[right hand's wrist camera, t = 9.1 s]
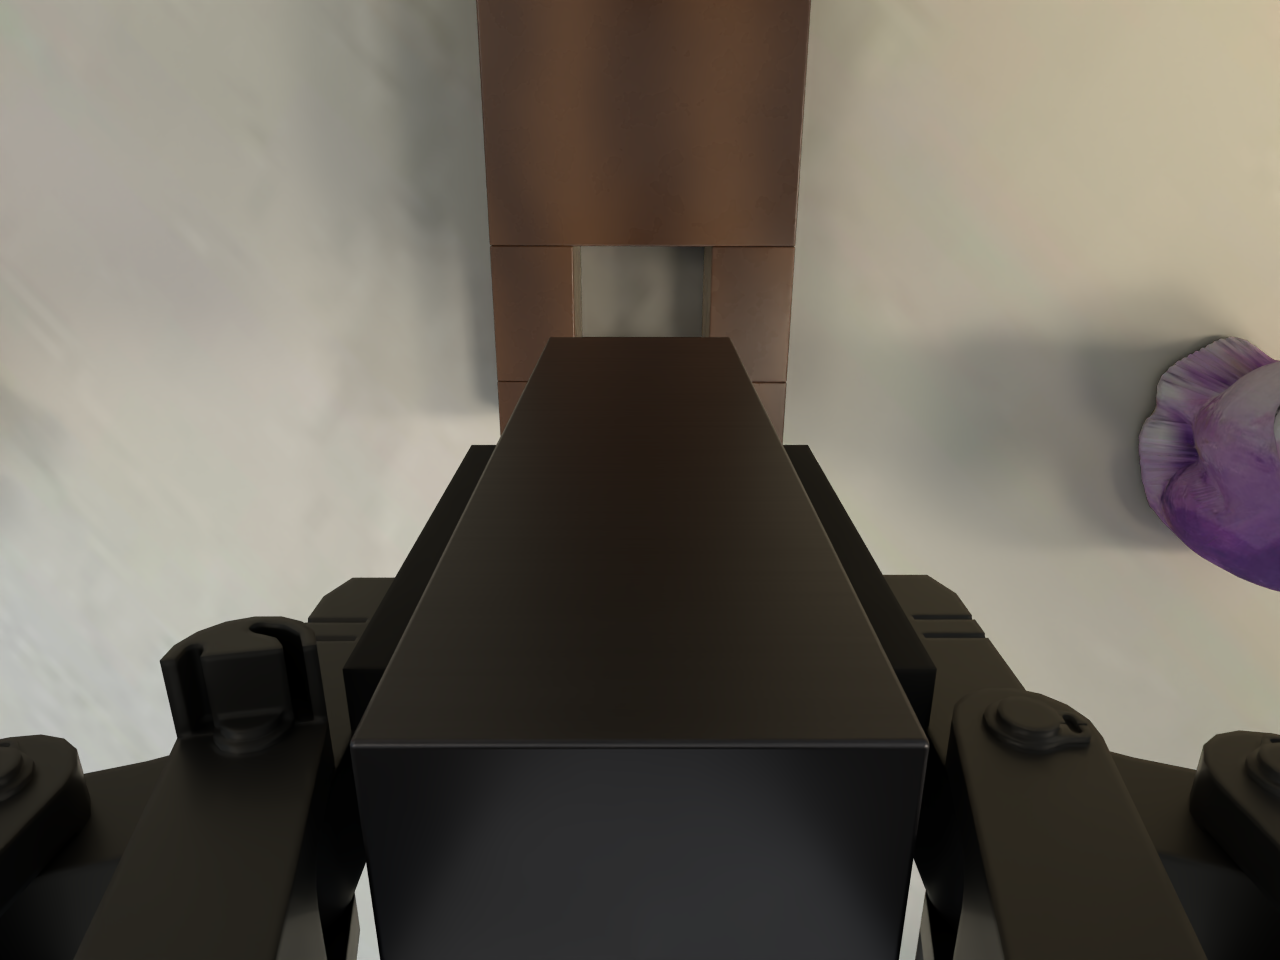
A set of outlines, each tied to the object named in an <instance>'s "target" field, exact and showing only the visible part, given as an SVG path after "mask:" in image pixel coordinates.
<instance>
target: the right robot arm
mask: <svg viewBox="0 0 1280 960" xmlns="http://www.w3.org/2000/svg"><path fill="white" fill-rule="evenodd" d="M783 446H784V448H785V450H786V452H787V455H788V457H789V459H790V461H791V463H792V465H793V467H794V469H795V471H796V473H797V475H798V477H799V479H800V481H801V483H802V485H803V487H804V489H805V491H806V493H807V495H808V497H809V499H810V501H811V503H812V505H813V507H814V509H815V511H816V513H817V515H818V517H819V519H820V521H821V523H822V526H823V528H824V530H825V532H826V534H827V536H828V538H829V540H830V542H831V544H832V546H833V548H834V550H835V552H836V554H837V556H838V558H839V560H840V562H841V564H842V566H843V568H844V570H845V572H846V574H847V576H848V578H849V580H850V582H851V584H852V586H853V588H854V590H855V592H856V594H857V597H858V599H859V601H860V603H861V605H862V607H863V609H864V611H865V613H866V615H867V617H868V619H869V621H870V623H871V625H872V627H873V629H874V631H875V633H876V635H877V637H878V639H879V641H880V643H881V645H882V647H883V649H884V651H885V653H886V655H887V657H888V659H889V661H890V663H891V665H892V668H893V670H894V672H895V674H896V676H897V678H898V680H899V682H900V684H901V686H902V688H903V690H904V692H905V694H906V696H907V698H908V700H909V702H910V704H911V706H912V708H913V710H914V712H915V714H916V716H917V718H918V720H919V722H920V724H921V726H922V728H923V730H924V732H925V734H926V737H927V739H928V741H929V744H930V745H929V752H928V759H927V766H926V773H925V780H924V787H923V794H922V801H921V808H920V815H919V822H918V829H917V836H916V843H915V850H914V857H913V858H914V861H915V863H916V866H917V868H918V871H919V873H920V876H921V879H922V881H923V884H924V886H925V889H926V892H925V899H924V905H923V912H922V918H921V925H920V931H919V938H918V945H917V951H916V958H915V960H1280V735H1277V734H1272V733H1261V732H1250V731H1234V732H1228V733H1223V734H1217V735H1215V736H1214V737H1213V738H1212V739H1210V740H1209V741H1208V742H1207V743H1206V744H1204V746H1203V749H1202V753H1201V756H1200V760H1199V764H1198V767H1197V770H1193V769H1188V768H1183V767H1178V766H1173V765H1168V764H1163V763H1158V762H1153V761H1148V760H1143V759H1138V758H1133V757H1129V756H1125V755H1122V754H1118V753H1114V752H1110V751H1109V749H1108V747H1107V745H1106V743H1105V741H1104V739H1103V737H1102V735H1101V734H1100V733H1099V732H1098V730H1097V729H1096V728H1095V727H1094V725H1093V724H1092V723H1091V722H1090V720H1089V719H1087V718H1086V717H1084V716H1083V715H1081V714H1080V713H1078V712H1077V711H1075V710H1074V709H1073V708H1071V707H1070V706H1068V705H1066V704H1064V703H1062V702H1059V701H1057V700H1054V699H1052V698H1049V697H1047V696H1044V695H1042V694H1039V693H1034V692H1029V691H1026V690H1025V689H1024V687H1023V686H1022V684H1021V683H1020V682H1019V680H1018V679H1017V677H1016V676H1015V675H1014V673H1013V672H1012V670H1011V669H1010V668H1009V666H1008V665H1007V664H1006V662H1005V661H1004V659H1003V658H1002V657H1001V655H1000V654H999V652H998V651H997V650H996V648H995V647H994V645H993V644H992V643H991V641H990V640H989V639H988V638H985V633H984V632H983V630H982V629H981V627H980V626H979V625H978V623H977V622H976V620H972V615H971V614H970V612H969V611H968V609H967V608H966V607H965V605H964V604H963V602H962V601H961V600H960V598H959V597H958V595H957V594H956V593H954V592H953V591H951V590H950V589H948V588H947V587H945V586H944V585H942V584H940V583H939V582H937V581H936V580H934V579H933V578H931V577H930V576H928V575H882V573H881V571H880V569H879V568H878V566H877V564H876V562H875V561H874V559H873V557H872V556H871V554H870V552H869V550H868V549H867V547H866V545H865V543H864V542H863V540H862V538H861V536H860V535H859V533H858V531H857V530H856V528H855V526H854V524H853V523H852V521H851V519H850V517H849V516H848V514H847V512H846V511H845V509H844V507H843V505H842V504H841V502H840V500H839V498H838V497H837V495H836V493H835V491H834V490H833V488H832V486H831V485H830V483H829V481H828V479H827V478H826V476H825V474H824V472H823V471H822V469H821V467H820V465H819V464H818V462H817V460H816V459H815V457H814V455H813V453H812V452H811V450H810V448H809V446H808V445H783ZM495 447H496V445H471V447H470V449H469V451H468V452H467V454H466V456H465V458H464V459H463V461H462V463H461V464H460V466H459V468H458V470H457V471H456V473H455V475H454V477H453V478H452V480H451V482H450V483H449V485H448V487H447V489H446V490H445V492H444V494H443V496H442V497H441V499H440V501H439V503H438V504H437V506H436V508H435V509H434V511H433V513H432V515H431V516H430V518H429V520H428V522H427V523H426V525H425V527H424V529H423V530H422V532H421V534H420V535H419V537H418V539H417V541H416V542H415V544H414V546H413V548H412V549H411V551H410V553H409V554H408V556H407V558H406V560H405V561H404V563H403V565H402V567H401V568H400V570H399V572H398V574H397V575H396V577H395V578H352V579H350V580H348V581H347V582H345V583H344V584H342V585H341V586H339V587H338V588H336V589H334V590H333V591H331V592H330V593H328V594H327V595H325V596H324V597H323V598H322V600H321V601H320V602H319V604H318V605H317V607H316V608H315V609H314V611H313V612H312V614H311V615H310V616H309V618H308V623H303V622H302V621H298V620H294V619H290V618H285V617H250V618H244V619H238V620H233V621H227V622H224V623H221V624H218V625H215V626H212V627H209V628H207V629H204V630H201V631H198V632H196V633H194V634H193V635H191V636H189V637H188V638H186V639H184V640H182V641H181V642H179V643H177V644H176V645H174V646H173V647H172V648H171V649H170V650H169V651H168V652H167V654H166V655H165V656H164V657H163V658H162V659H161V660H160V664H161V668H162V673H163V677H164V682H165V686H166V690H167V695H168V699H169V703H170V708H171V712H172V717H173V721H174V725H175V730H176V734H177V740H176V742H175V744H174V746H173V749H172V751H171V753H170V755H169V756H165V757H161V758H158V759H154V760H150V761H146V762H141V763H136V764H131V765H126V766H121V767H116V768H111V769H106V770H101V771H96V772H91V773H86V774H84V773H83V770H82V766H81V763H80V759H79V755H78V752H77V749H76V748H75V747H73V746H72V745H71V744H70V743H69V742H68V741H66V740H65V739H63V738H58V737H52V736H46V735H31V736H20V737H9V738H4V739H0V960H357V951H358V943H359V934H360V926H359V919H358V912H357V905H356V899H355V889H356V887H357V884H358V881H359V879H360V876H361V874H362V871H363V869H364V866H365V863H366V857H365V850H364V843H363V836H362V829H361V822H360V815H359V808H358V801H357V794H356V787H355V780H354V773H353V766H352V760H351V753H350V746H349V744H350V741H351V739H352V737H353V735H354V733H355V731H356V728H357V726H358V724H359V722H360V720H361V718H362V716H363V714H364V712H365V710H366V708H367V706H368V704H369V702H370V700H371V698H372V696H373V694H374V692H375V690H376V688H377V686H378V684H379V682H380V680H381V678H382V676H383V674H384V672H385V670H386V668H387V666H388V664H389V662H390V660H391V658H392V656H393V654H394V652H395V650H396V647H397V645H398V643H399V641H400V639H401V637H402V635H403V633H404V631H405V629H406V627H407V625H408V623H409V621H410V619H411V617H412V615H413V613H414V611H415V609H416V607H417V605H418V603H419V601H420V599H421V597H422V595H423V593H424V591H425V589H426V587H427V585H428V583H429V581H430V579H431V577H432V575H433V573H434V571H435V569H436V566H437V564H438V562H439V560H440V558H441V556H442V554H443V552H444V550H445V548H446V546H447V544H448V542H449V540H450V538H451V536H452V534H453V532H454V530H455V528H456V526H457V524H458V522H459V520H460V518H461V516H462V514H463V512H464V510H465V508H466V506H467V504H468V502H469V500H470V498H471V496H472V494H473V492H474V490H475V488H476V485H477V483H478V481H479V479H480V477H481V475H482V473H483V471H484V469H485V467H486V465H487V463H488V461H489V459H490V457H491V455H492V453H493V451H494V449H495Z"/></svg>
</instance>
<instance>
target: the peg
mask: <svg viewBox="0 0 1280 960" xmlns="http://www.w3.org/2000/svg"><path fill="white" fill-rule="evenodd" d="M929 745H930V744H929V741H928V739H927V737H926V734H925V732H924V730H923V728H922V726H921V724H920V722H919V720H918V718H917V716H916V714H915V712H914V710H913V708H912V706H911V704H910V702H909V700H908V698H907V696H906V694H905V692H904V690H903V688H902V686H901V684H900V682H899V680H898V678H897V676H896V674H895V672H894V670H893V668H892V665H891V663H890V661H889V659H888V657H887V655H886V653H885V651H884V649H883V647H882V645H881V643H880V641H879V639H878V637H877V635H876V633H875V631H874V629H873V627H872V625H871V623H870V621H869V619H868V617H867V615H866V613H865V611H864V609H863V607H862V605H861V603H860V601H859V599H858V597H857V594H856V592H855V590H854V588H853V586H852V584H851V582H850V580H849V578H848V576H847V574H846V572H845V570H844V568H843V566H842V564H841V562H840V560H839V558H838V556H837V554H836V552H835V550H834V548H833V546H832V544H831V542H830V540H829V538H828V536H827V534H826V532H825V530H824V528H823V526H822V523H821V521H820V519H819V517H818V515H817V513H816V511H815V509H814V507H813V505H812V503H811V501H810V499H809V497H808V495H807V493H806V491H805V489H804V487H803V485H802V483H801V481H800V479H799V477H798V475H797V473H796V471H795V469H794V467H793V465H792V463H791V461H790V459H789V457H788V455H787V452H786V450H785V448H784V446H783V444H782V442H781V440H780V438H779V436H778V434H777V432H776V430H775V428H774V426H773V424H772V422H771V420H770V418H769V416H768V414H767V412H766V410H765V408H764V406H763V404H762V402H761V400H760V398H759V396H758V394H757V392H756V390H755V388H754V386H753V384H752V381H751V379H750V377H749V375H748V373H747V371H746V369H745V367H744V365H743V363H742V361H741V359H740V357H739V355H738V353H737V351H736V349H735V347H734V345H733V343H732V341H731V339H730V338H729V337H550V338H549V340H548V342H547V344H546V346H545V348H544V350H543V352H542V354H541V356H540V358H539V360H538V362H537V364H536V366H535V368H534V370H533V372H532V374H531V376H530V378H529V380H528V382H527V384H526V386H525V388H524V390H523V392H522V394H521V396H520V398H519V400H518V402H517V404H516V407H515V409H514V411H513V413H512V415H511V417H510V419H509V421H508V423H507V425H506V427H505V429H504V431H503V433H502V435H501V437H500V439H499V441H498V443H497V445H496V447H495V449H494V451H493V453H492V455H491V457H490V459H489V461H488V463H487V465H486V467H485V469H484V471H483V473H482V475H481V477H480V479H479V481H478V483H477V485H476V488H475V490H474V492H473V494H472V496H471V498H470V500H469V502H468V504H467V506H466V508H465V510H464V512H463V514H462V516H461V518H460V520H459V522H458V524H457V526H456V528H455V530H454V532H453V534H452V536H451V538H450V540H449V542H448V544H447V546H446V548H445V550H444V552H443V554H442V556H441V558H440V560H439V562H438V564H437V566H436V569H435V571H434V573H433V575H432V577H431V579H430V581H429V583H428V585H427V587H426V589H425V591H424V593H423V595H422V597H421V599H420V601H419V603H418V605H417V607H416V609H415V611H414V613H413V615H412V617H411V619H410V621H409V623H408V625H407V627H406V629H405V631H404V633H403V635H402V637H401V639H400V641H399V643H398V645H397V647H396V650H395V652H394V654H393V656H392V658H391V660H390V662H389V664H388V666H387V668H386V670H385V672H384V674H383V676H382V678H381V680H380V682H379V684H378V686H377V688H376V690H375V692H374V694H373V696H372V698H371V700H370V702H369V704H368V706H367V708H366V710H365V712H364V714H363V716H362V718H361V720H360V722H359V724H358V726H357V728H356V731H355V733H354V735H353V737H352V739H351V741H350V744H349V746H350V753H351V760H352V766H353V773H354V780H355V787H356V794H357V801H358V808H359V815H360V822H361V829H362V836H363V843H364V850H365V857H366V864H367V871H368V878H369V885H370V892H371V898H372V905H373V912H374V919H375V926H376V933H377V940H378V947H379V954H380V960H899V955H900V948H901V941H902V934H903V927H904V920H905V913H906V906H907V899H908V892H909V885H910V878H911V871H912V864H913V857H914V850H915V843H916V836H917V829H918V822H919V815H920V808H921V801H922V794H923V787H924V780H925V773H926V766H927V759H928V752H929Z"/></svg>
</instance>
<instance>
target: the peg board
mask: <svg viewBox="0 0 1280 960" xmlns="http://www.w3.org/2000/svg"><path fill="white" fill-rule="evenodd" d="M476 7H477V25H478V42H479V60H480V78H481V96H482V114H483V131H484V149H485V167H486V185H487V202H488V220H489V238H490V245H492V246H490V256H491V274H492V291H493V309H494V327H495V345H496V362H497V379H498V399H499V417H500V435H502V433H503V431H504V429H505V427H506V425H507V423H508V421H509V419H510V417H511V415H512V413H513V411H514V409H515V407H516V404H517V402H518V400H519V398H520V396H521V394H522V392H523V390H524V388H525V386H526V384H527V382H528V380H529V378H530V376H531V374H532V372H533V370H534V368H535V366H536V364H537V362H538V360H539V358H540V356H541V354H542V352H543V350H544V348H545V346H546V344H547V342H548V340H549V338H550V337H582V297H581V249H580V246H704V273H703V308H702V337H729V338H730V339H731V341H732V343H733V345H734V347H735V349H736V351H737V353H738V355H739V357H740V359H741V361H742V363H743V365H744V367H745V369H746V371H747V373H748V375H749V377H750V379H751V381H752V384H753V386H754V388H755V390H756V392H757V394H758V396H759V398H760V400H761V402H762V404H763V406H764V408H765V410H766V412H767V414H768V416H769V418H770V420H771V422H772V424H773V426H774V428H775V430H776V432H777V434H778V436H779V438H780V440H781V442H782V443H783V429H784V413H785V398H786V381H787V366H788V350H789V335H790V319H791V304H792V288H793V273H794V257H795V247H793V246H795V241H796V225H797V210H798V194H799V179H800V163H801V148H802V132H803V117H804V101H805V85H806V70H807V54H808V39H809V23H810V8H811V0H476Z"/></svg>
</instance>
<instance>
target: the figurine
mask: <svg viewBox="0 0 1280 960" xmlns="http://www.w3.org/2000/svg"><path fill="white" fill-rule="evenodd" d="M1156 403H1157V404H1156V407H1155V410H1154V411H1153V413H1152V414H1151V416H1150V417H1148V418H1147V419H1146V421H1145V422H1144V424H1143V426H1142V429H1141V432H1140V435H1139V437H1138V438H1139V441H1140V442H1139V456H1140V462H1139V463H1140V465H1141V476H1142V482H1143V484H1144V489H1145V493H1146V496H1147V497H1146V498H1147V500H1148V503H1149V506H1150V507H1151V508H1152V509H1153V510H1154V511H1155V513H1156V514H1157V515H1158V517H1159V518H1160V519H1161V520H1162V522H1163V523H1164V524H1165V525H1167V526H1168V527H1169V528H1170V529H1171V530H1172V531H1173V532H1174V533H1175V534H1176V535H1177V536H1178V537H1179V538H1180V539H1181V540H1182V541H1183V542H1184V543H1185V544H1186V545H1187V546H1188V547H1189V548H1190V549H1192V550H1193V551H1194V552H1195V553H1197V554H1198V555H1200V556H1201V557H1203V558H1204V559H1206V560H1208V561H1210V562H1211V563H1213V564H1215V565H1217V566H1219V567H1220V568H1222V569H1224V570H1226V571H1228V572H1230V573H1232V574H1234V575H1235V576H1237V577H1239V578H1242V579H1244V580H1247V581H1249V582H1252V583H1254V584H1257V585H1260V586H1263V587H1266V588H1269V589H1272V590H1276V591H1280V361H1277V360H1274V359H1272V358H1270V357H1269V356H1267V355H1266V354H1265V353H1263V352H1262V351H1261V350H1260V349H1258V348H1257V347H1256V346H1254V345H1252V344H1251V343H1249V342H1248V341H1247V340H1244V339H1240V338H1236V337H1227V338H1225V339H1222V338H1220V339H1219V340H1217V341H1214V342H1213V343H1212V344H1208V345H1207V346H1206V347H1205V348H1201V349H1200V351H1195V352H1194V353H1193V354H1189V355H1188V357H1184V358H1183V359H1182V360H1179V361H1177V362H1176V363H1175V364H1174V365H1173V366H1171V367H1169V369H1168V370H1167V372H1165V373H1164V374H1163V375H1162V376H1161V378H1160V380H1159V383H1158V385H1157V395H1156Z"/></svg>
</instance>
